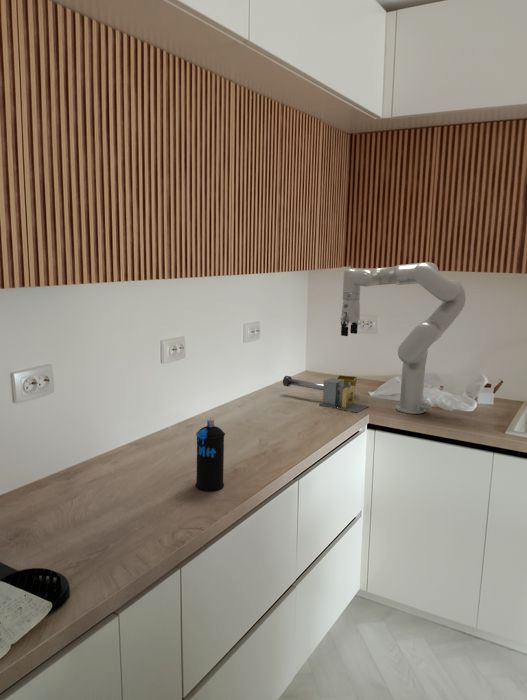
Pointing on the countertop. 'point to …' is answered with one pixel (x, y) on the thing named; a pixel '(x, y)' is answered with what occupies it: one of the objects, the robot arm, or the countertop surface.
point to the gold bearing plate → (348, 396)
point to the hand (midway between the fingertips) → (349, 334)
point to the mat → (355, 408)
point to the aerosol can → (210, 457)
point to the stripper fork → (341, 392)
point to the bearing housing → (331, 393)
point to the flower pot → (348, 380)
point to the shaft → (304, 384)
